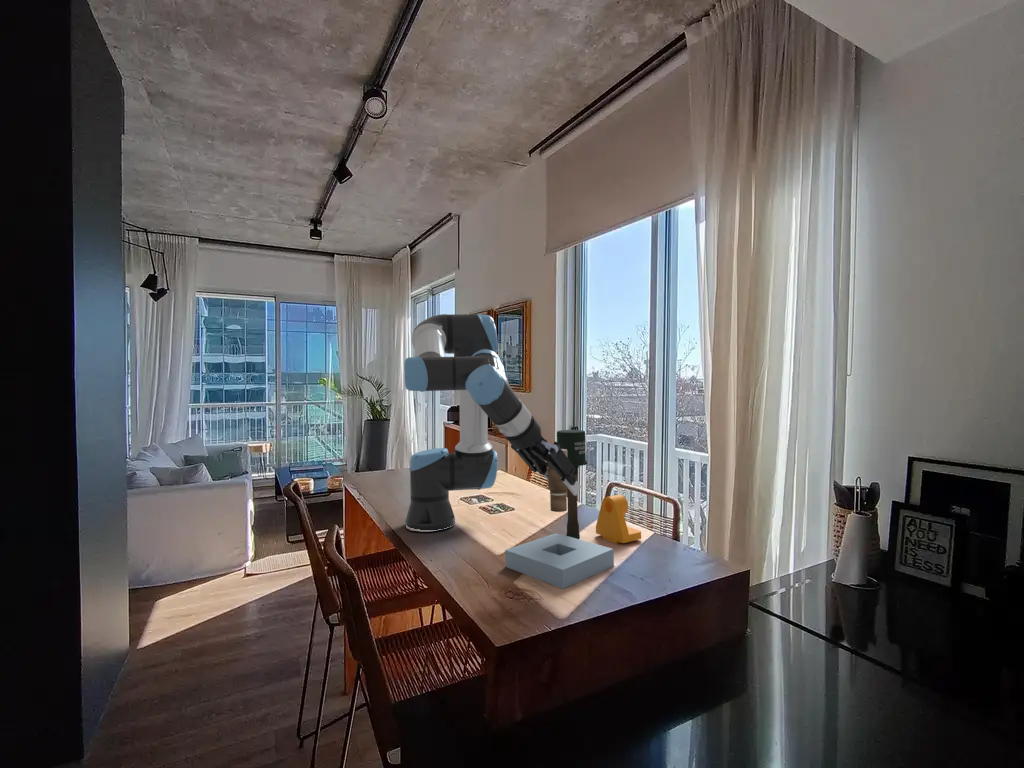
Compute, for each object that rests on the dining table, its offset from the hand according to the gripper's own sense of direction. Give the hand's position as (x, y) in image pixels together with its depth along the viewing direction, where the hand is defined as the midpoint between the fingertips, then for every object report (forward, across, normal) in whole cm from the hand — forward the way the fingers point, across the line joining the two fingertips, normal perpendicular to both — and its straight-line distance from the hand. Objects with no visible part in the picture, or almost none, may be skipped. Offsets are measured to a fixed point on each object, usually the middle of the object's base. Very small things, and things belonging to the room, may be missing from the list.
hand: (568, 489), depth 119 cm
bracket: (+29, -2, +4) cm, 30 cm away
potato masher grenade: (+22, -10, -3) cm, 25 cm away
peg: (0, 0, -6) cm, 6 cm away
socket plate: (+10, 0, -15) cm, 18 cm away
